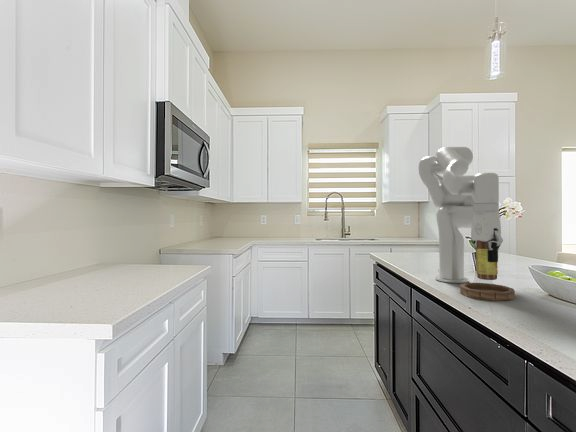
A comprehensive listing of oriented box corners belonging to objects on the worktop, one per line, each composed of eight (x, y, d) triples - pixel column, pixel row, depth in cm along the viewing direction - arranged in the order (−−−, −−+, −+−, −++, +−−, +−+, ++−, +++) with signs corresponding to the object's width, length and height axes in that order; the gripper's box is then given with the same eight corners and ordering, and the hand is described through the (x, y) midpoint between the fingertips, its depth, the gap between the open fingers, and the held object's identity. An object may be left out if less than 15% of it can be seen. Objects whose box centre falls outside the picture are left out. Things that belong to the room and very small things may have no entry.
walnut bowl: (451, 289, 121) (451, 282, 121) (493, 289, 122) (493, 282, 122) (477, 301, 105) (477, 293, 105) (526, 300, 106) (526, 292, 106)
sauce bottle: (500, 281, 109) (500, 221, 109) (480, 280, 111) (480, 221, 111) (492, 277, 116) (492, 221, 116) (473, 276, 117) (473, 221, 117)
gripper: (461, 209, 122) (462, 257, 122) (491, 208, 105) (491, 264, 105) (481, 209, 122) (481, 257, 122) (514, 208, 105) (514, 264, 105)
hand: (486, 260), depth 113 cm, fingers closed on sauce bottle, 6 cm apart
